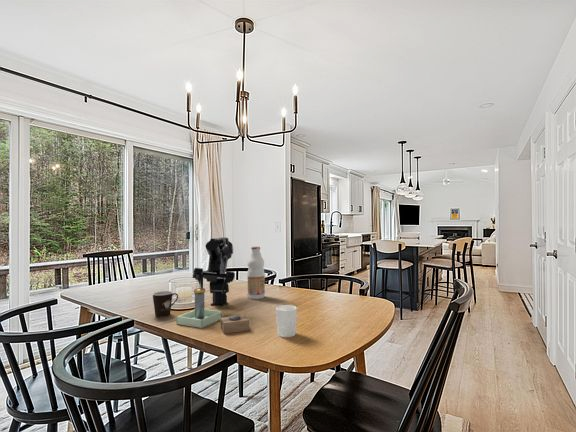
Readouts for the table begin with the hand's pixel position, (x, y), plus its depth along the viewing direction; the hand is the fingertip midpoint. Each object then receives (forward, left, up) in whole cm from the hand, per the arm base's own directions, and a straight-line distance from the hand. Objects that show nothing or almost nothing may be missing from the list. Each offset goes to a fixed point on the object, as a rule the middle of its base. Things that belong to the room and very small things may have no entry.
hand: (212, 292), depth 149 cm
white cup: (+41, -9, -11) cm, 43 cm away
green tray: (0, -9, -11) cm, 14 cm away
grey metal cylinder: (0, -9, -10) cm, 13 cm away
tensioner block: (+20, -11, -11) cm, 25 cm away
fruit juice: (+1, +37, -11) cm, 39 cm away
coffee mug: (-21, -7, -11) cm, 25 cm away
